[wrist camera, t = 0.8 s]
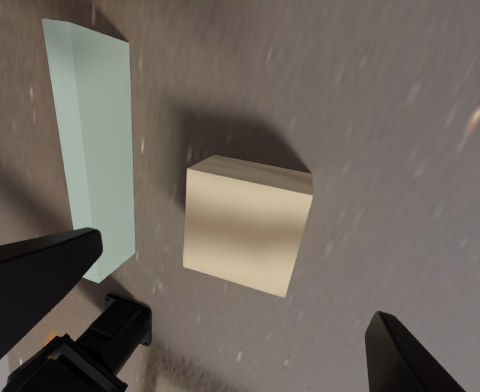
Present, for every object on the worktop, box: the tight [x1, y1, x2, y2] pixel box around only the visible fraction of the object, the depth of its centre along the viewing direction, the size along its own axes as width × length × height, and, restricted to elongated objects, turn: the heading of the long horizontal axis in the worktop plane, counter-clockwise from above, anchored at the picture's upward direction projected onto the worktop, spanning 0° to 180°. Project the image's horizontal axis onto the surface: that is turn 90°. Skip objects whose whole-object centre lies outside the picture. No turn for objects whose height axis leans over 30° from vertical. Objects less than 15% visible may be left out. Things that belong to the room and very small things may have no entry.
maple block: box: [183, 155, 313, 298], centre depth 18 cm, size 8×8×5 cm
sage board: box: [42, 19, 135, 283], centre depth 20 cm, size 20×2×5 cm, turn 172°
